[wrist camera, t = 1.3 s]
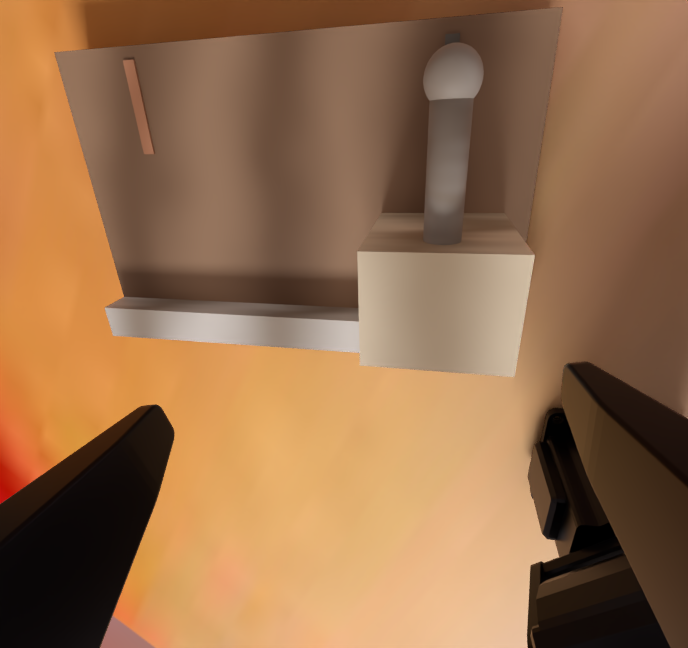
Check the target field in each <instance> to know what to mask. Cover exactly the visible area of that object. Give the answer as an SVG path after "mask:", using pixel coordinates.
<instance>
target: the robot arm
mask: <svg viewBox="0 0 688 648" xmlns="http://www.w3.org/2000/svg"><path fill="white" fill-rule="evenodd" d="M561 401H562V405H563V408H564V409H563V408H553V409H551V410H549V411H548V412H547V414H546V418H545V422H544V427H543V432H542V436H541V441H538V442H537V443H535V444H534V448H533V453H532V458H531V462H530V467H529V472H528V480H529V484H530V492H531V496H532V498H533V499H534V503H535V507H536V511H537V515H538V519H539V523H540V527H541V531H542V534H543V535H544V536H545V537H546V539H551V540H555V543H556V546H557V550H558V554H559V558H556V559H553V560H550V561H548V562H545V563H543V562H542V561H541V562H538V563H536V564H533V565H531V569H530V589H529V609H528V629H527V643H528V648H688V419H687V418H686V417H684V416H682V415H680V414H679V413H677V412H675V411H673V410H672V409H670V408H668V407H666V406H665V405H663V404H661V403H659V402H658V401H656V400H654V399H652V398H651V397H649V396H647V395H646V394H644V393H642V392H640V391H639V390H637V389H635V388H633V387H632V386H630V385H628V384H626V383H625V382H623V381H621V380H619V379H618V378H616V377H614V376H612V375H611V374H609V373H607V372H605V371H604V370H602V369H600V368H598V367H597V366H595V365H593V364H592V363H589V362H575V363H567V364H566V365H565V366H564V369H563V378H562V388H561ZM558 416H559V417H560V418H559V419H554V418H555V417H558ZM173 441H174V429H173V427H172V425H171V423H170V422H169V420H168V418H167V416H166V415H165V413H164V411H163V409H162V408H161V407H160V406H158V405H146V406H141V407H139V408H137V409H136V410H134V411H133V412H131V413H130V414H129V415H127V416H126V417H124V418H123V419H121V420H120V421H119V422H117V423H116V424H114V425H113V426H111V427H110V428H109V429H107V430H106V431H104V432H103V433H101V434H100V435H99V436H97V437H96V438H94V439H93V440H91V441H90V442H89V443H87V444H86V445H84V446H83V447H81V448H80V449H78V450H77V451H76V452H74V453H73V454H71V455H70V456H68V457H67V458H66V459H64V460H63V461H61V462H60V463H58V464H57V465H56V466H54V467H53V468H51V469H50V470H48V471H47V472H46V473H44V474H43V475H41V476H40V477H38V478H37V479H36V480H34V481H33V482H31V483H30V484H28V485H27V486H26V487H24V488H23V489H21V490H20V491H18V492H17V493H16V494H14V495H13V496H11V497H10V498H8V499H7V500H5V501H4V502H3V503H1V504H0V648H100V647H101V644H102V641H103V639H104V636H105V633H106V631H107V628H108V626H109V623H110V620H111V618H112V615H113V613H114V610H115V608H116V605H117V602H118V600H119V597H120V595H121V592H122V589H123V587H124V584H125V582H126V579H127V576H128V574H129V571H130V569H131V566H132V563H133V561H134V558H135V556H136V553H137V550H138V548H139V545H140V543H141V540H142V537H143V535H144V532H145V530H146V527H147V524H148V522H149V519H150V517H151V514H152V512H153V509H154V506H155V503H156V501H157V498H158V494H159V491H160V488H161V484H162V481H163V477H164V473H165V470H166V466H167V462H168V459H169V455H170V452H171V448H172V444H173Z"/></svg>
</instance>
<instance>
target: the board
mask: <svg viewBox="0 0 688 648" xmlns="http://www.w3.org/2000/svg"><path fill="white" fill-rule="evenodd" d="M562 11H563V7H558V8H546V9H535V10H524V11H513V12H501V13H490V14H479V15H468V16H457V17H445V18H434V19H423V20H412V21H400V22H389V23H378V24H367V25H356V26H344V27H333V28H322V29H311V30H299V31H288V32H277V33H266V34H255V35H243V36H232V37H221V38H210V39H199V40H187V41H176V42H165V43H154V44H142V45H131V46H120V47H109V48H98V49H86V50H75V51H64V52H54V53H55V56H56V60H57V63H58V67H59V70H60V74H61V77H62V81H63V84H64V88H65V91H66V95H67V98H68V102H69V105H70V109H71V112H72V116H73V119H74V123H75V126H76V130H77V133H78V137H79V140H80V144H81V147H82V151H83V154H84V158H85V161H86V165H87V168H88V172H89V175H90V179H91V182H92V186H93V189H94V193H95V196H96V200H97V203H98V207H99V210H100V214H101V217H102V221H103V224H104V228H105V231H106V235H107V238H108V242H109V245H110V249H111V252H112V256H113V259H114V263H115V266H116V270H117V273H118V277H119V280H120V284H121V287H122V291H123V294H124V297H123V298H121V299H119V300H118V301H116V302H114V303H112V304H110V305H109V306H107V307H105V311H106V314H107V317H108V320H109V323H110V327H111V330H112V333H113V336H126V337H141V338H155V339H169V340H184V341H198V342H212V343H227V344H241V345H255V346H270V347H284V348H298V349H313V350H327V351H342V352H356V353H360V348H359V305H358V261H357V251H358V249H359V248H360V246H361V245H362V243H363V242H364V240H365V238H366V237H367V235H368V234H369V232H370V230H371V229H372V227H373V226H374V224H375V223H376V221H377V219H378V218H379V216H380V215H381V213H424V209H425V188H426V166H427V145H428V124H429V102H430V101H429V99H428V98H427V96H426V93H425V90H424V85H423V77H424V71H425V68H426V65H427V63H428V61H429V60H430V58H431V57H432V55H433V54H434V53H435V52H436V51H437V50H438V49H440V48H441V47H443V46H445V45H447V44H450V43H464V44H467V45H469V46H471V47H472V48H474V49H475V50H476V51H477V53H478V54H479V56H480V57H481V60H482V63H483V69H484V76H483V81H482V85H481V87H480V90H479V92H478V93H477V95H476V96H475V98H474V102H473V113H472V125H471V136H470V148H469V159H468V171H467V182H466V194H465V205H464V213H505V215H506V216H507V217H508V219H509V220H510V221H511V223H512V224H513V226H514V227H515V228H516V230H517V231H518V232H519V234H520V235H521V237H522V238H523V239H524V241H525V242H526V241H527V235H528V229H529V222H530V216H531V209H532V203H533V197H534V190H535V184H536V177H537V171H538V165H539V158H540V152H541V145H542V139H543V133H544V126H545V120H546V113H547V107H548V101H549V94H550V88H551V81H552V75H553V69H554V62H555V56H556V49H557V43H558V37H559V30H560V24H561V17H562Z"/></svg>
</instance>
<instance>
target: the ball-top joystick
mask: <svg viewBox="0 0 688 648" xmlns="http://www.w3.org/2000/svg"><path fill="white" fill-rule="evenodd" d="M483 76H484V69H483V63H482V60H481V57H480V56H479V54H478V53H477V51H476V50H475V49H474V48H472V47H471V46H469V45H467V44H464V43H450V44H447V45H445V46H443V47H441V48H440V49H438V50H437V51H436V52H435V53H434V54H433V55H432V57H431V58H430V60H429V61H428V63H427V65H426V68H425V71H424V77H423V85H424V90H425V93H426V96H427V98H428V99H429V101H430V102H429V124H428V145H427V166H426V188H425V209H424V213H381V215H380V216H379V218H378V219H377V221H376V223H375V224H374V226H373V227H372V229H371V230H370V232H369V234H368V235H367V237H366V238H365V240H364V242H363V243H362V245H361V246H360V248H359V249H358V251H357V261H358V305H359V348H360V365H361V366H374V367H387V368H400V369H414V370H427V371H440V372H453V373H466V374H480V375H493V376H506V377H515V371H516V365H517V359H518V353H519V347H520V341H521V335H522V330H523V324H524V318H525V312H526V306H527V300H528V294H529V288H530V282H531V276H532V270H533V264H534V258H535V254H534V253H533V252H532V250H531V249H530V248H529V246H528V245H527V243H526V242H525V241H524V239H523V238H522V237H521V235H520V234H519V232H518V231H517V230H516V228H515V227H514V226H513V224H512V223H511V221H510V220H509V219H508V217H507V216H506V215H505V213H464V205H465V194H466V182H467V171H468V159H469V148H470V136H471V125H472V113H473V102H474V98H475V96H476V95H477V93H478V92H479V90H480V87H481V85H482V81H483Z"/></svg>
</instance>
